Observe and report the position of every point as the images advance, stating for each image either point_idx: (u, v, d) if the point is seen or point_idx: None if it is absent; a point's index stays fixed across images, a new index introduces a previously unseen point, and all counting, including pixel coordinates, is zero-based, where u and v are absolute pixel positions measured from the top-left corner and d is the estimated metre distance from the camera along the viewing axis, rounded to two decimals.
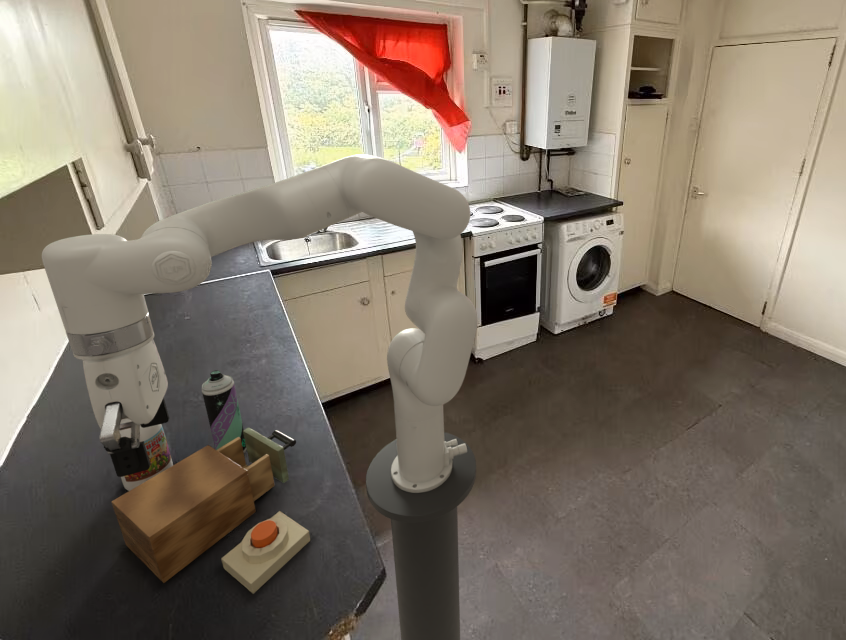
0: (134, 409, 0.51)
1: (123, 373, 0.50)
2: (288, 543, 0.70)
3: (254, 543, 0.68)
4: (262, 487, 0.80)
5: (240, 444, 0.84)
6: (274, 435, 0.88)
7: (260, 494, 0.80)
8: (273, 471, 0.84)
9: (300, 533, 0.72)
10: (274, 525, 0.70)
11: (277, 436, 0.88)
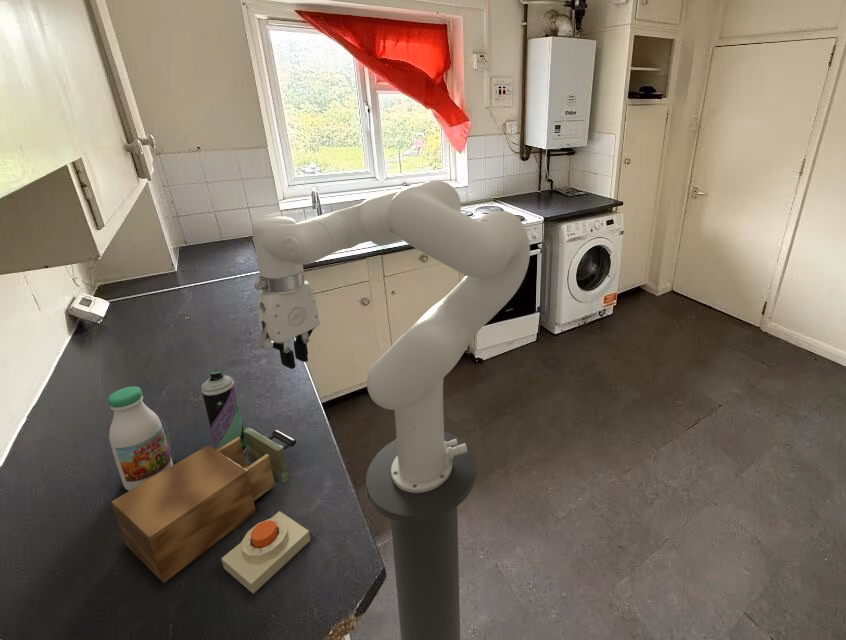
0: (270, 330, 0.79)
1: (267, 306, 0.78)
2: (288, 543, 0.70)
3: (254, 543, 0.68)
4: (262, 487, 0.80)
5: (240, 444, 0.84)
6: (274, 435, 0.88)
7: (260, 494, 0.80)
8: (273, 471, 0.84)
9: (300, 533, 0.72)
10: (274, 525, 0.70)
11: (277, 436, 0.88)
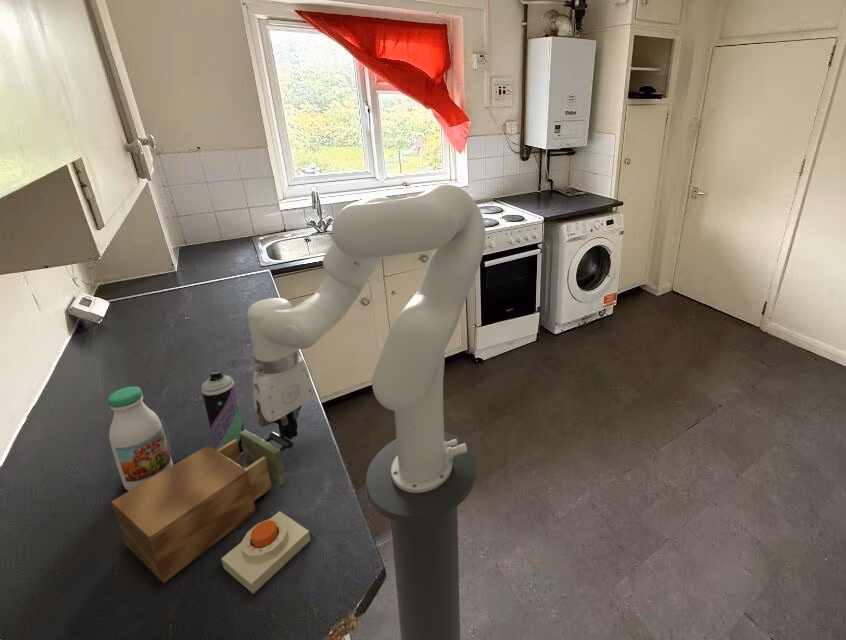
0: (264, 411, 0.81)
1: (262, 388, 0.80)
2: (288, 543, 0.70)
3: (254, 543, 0.68)
4: (259, 490, 0.79)
5: (236, 446, 0.84)
6: (271, 437, 0.88)
7: (257, 497, 0.79)
8: (270, 473, 0.83)
9: (300, 533, 0.72)
10: (274, 525, 0.70)
11: (274, 438, 0.87)
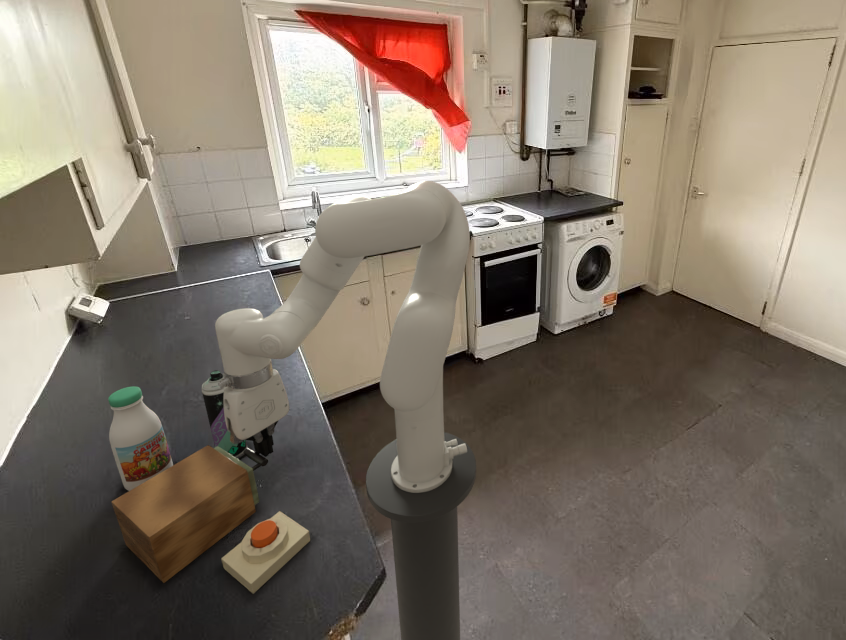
0: (235, 428, 0.77)
1: (231, 404, 0.76)
2: (288, 543, 0.70)
3: (254, 543, 0.68)
4: None
5: None
6: (245, 454, 0.83)
7: None
8: None
9: (300, 533, 0.72)
10: (274, 525, 0.70)
11: (248, 455, 0.83)
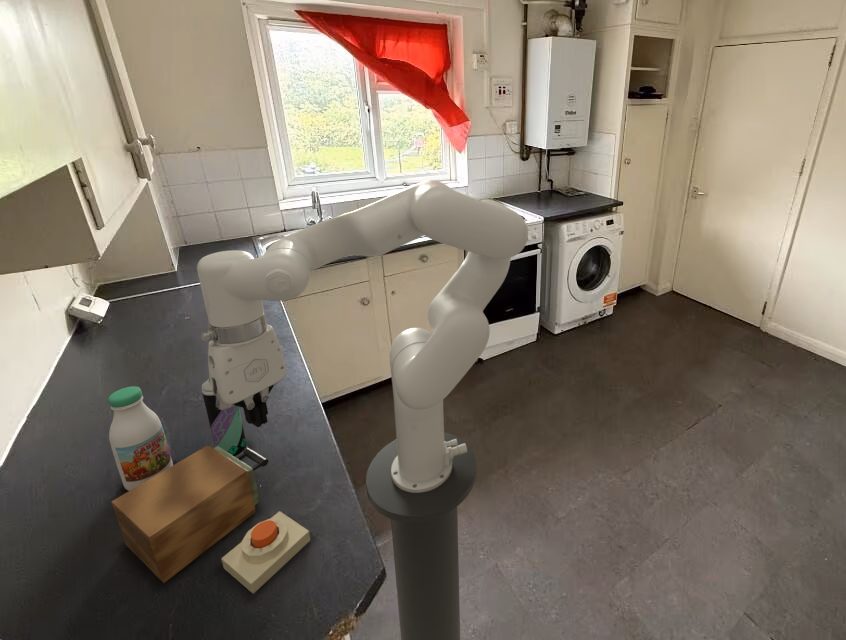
0: (221, 390, 0.65)
1: (217, 361, 0.64)
2: (288, 543, 0.70)
3: (254, 543, 0.68)
4: None
5: None
6: (245, 454, 0.83)
7: None
8: None
9: (300, 533, 0.72)
10: (274, 525, 0.70)
11: (248, 455, 0.83)
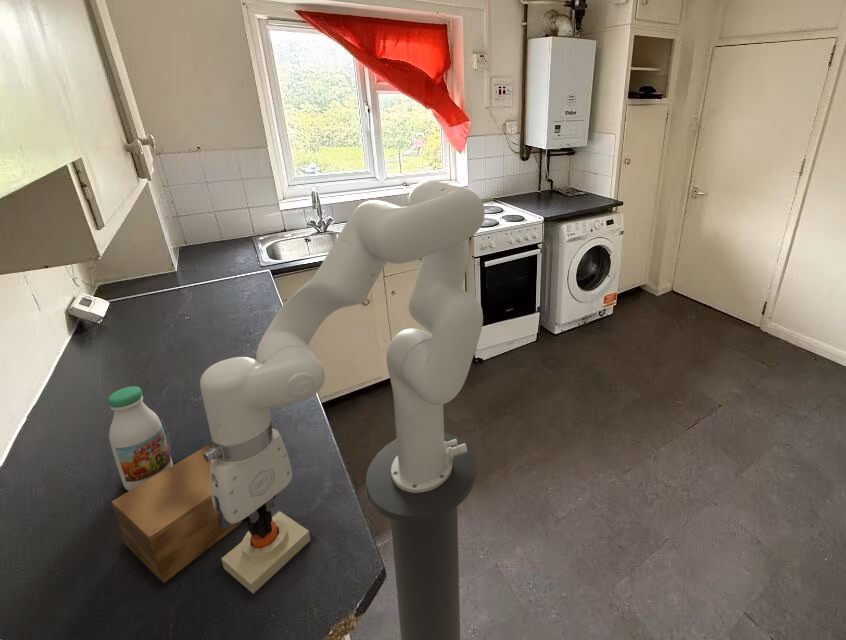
0: (224, 510, 0.61)
1: (221, 481, 0.60)
2: (288, 543, 0.70)
3: (254, 543, 0.68)
4: None
5: None
6: None
7: None
8: None
9: (300, 533, 0.72)
10: (274, 525, 0.70)
11: None
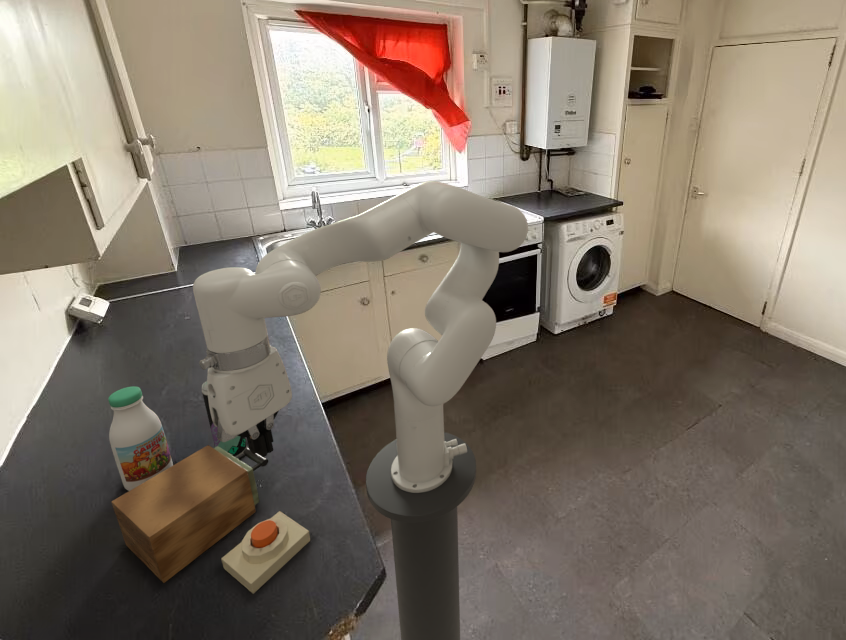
0: (223, 421, 0.60)
1: (218, 390, 0.58)
2: (288, 543, 0.70)
3: (254, 543, 0.68)
4: None
5: None
6: (245, 454, 0.83)
7: None
8: None
9: (300, 533, 0.72)
10: (274, 525, 0.70)
11: (248, 455, 0.83)
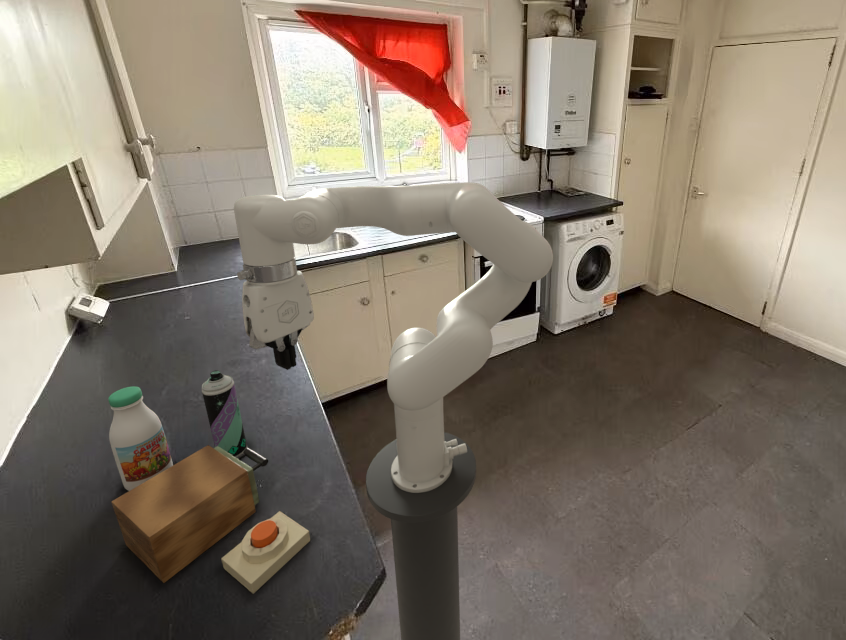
0: (256, 328, 0.68)
1: (252, 299, 0.67)
2: (288, 543, 0.70)
3: (254, 543, 0.68)
4: None
5: None
6: (245, 454, 0.83)
7: None
8: None
9: (300, 533, 0.72)
10: (274, 525, 0.70)
11: (248, 455, 0.83)
